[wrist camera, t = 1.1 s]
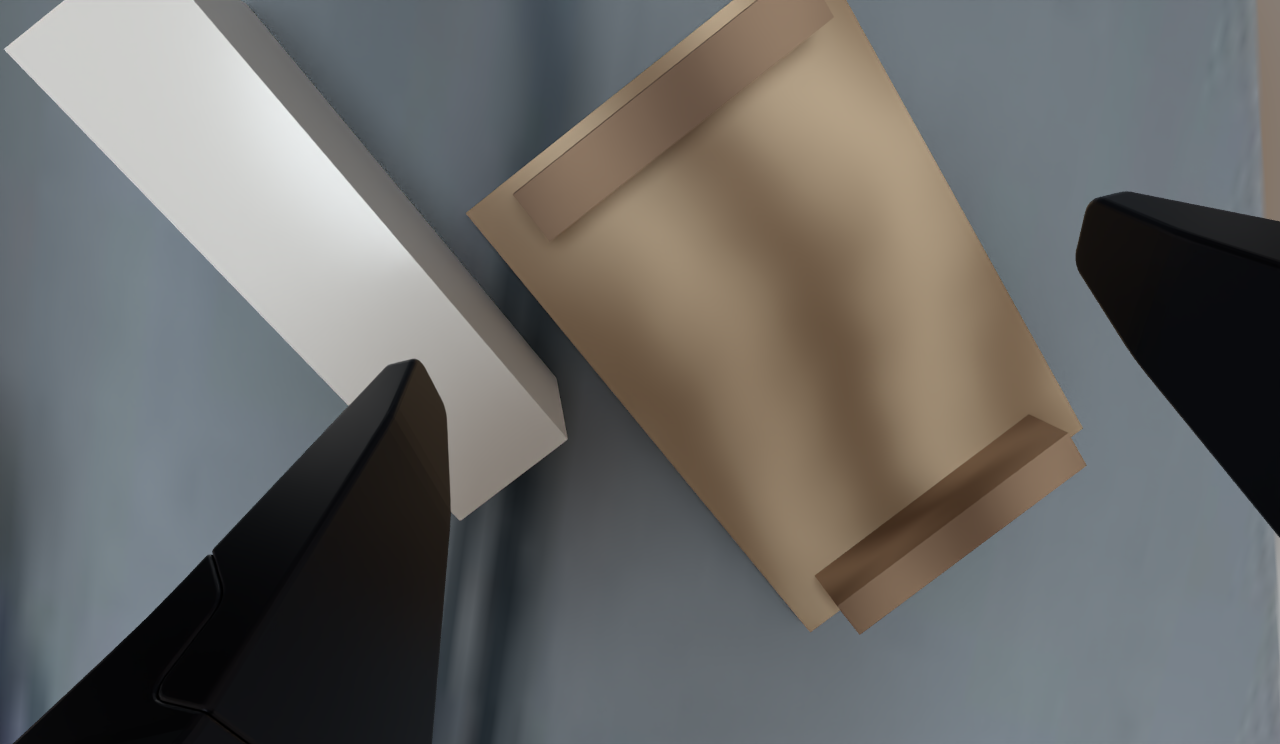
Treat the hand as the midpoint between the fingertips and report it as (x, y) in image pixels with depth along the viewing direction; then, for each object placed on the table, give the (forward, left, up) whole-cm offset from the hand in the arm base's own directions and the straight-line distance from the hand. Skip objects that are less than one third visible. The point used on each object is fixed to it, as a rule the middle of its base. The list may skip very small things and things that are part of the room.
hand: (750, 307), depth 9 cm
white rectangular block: (-6, +4, -15) cm, 16 cm away
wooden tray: (+3, -7, -14) cm, 16 cm away
